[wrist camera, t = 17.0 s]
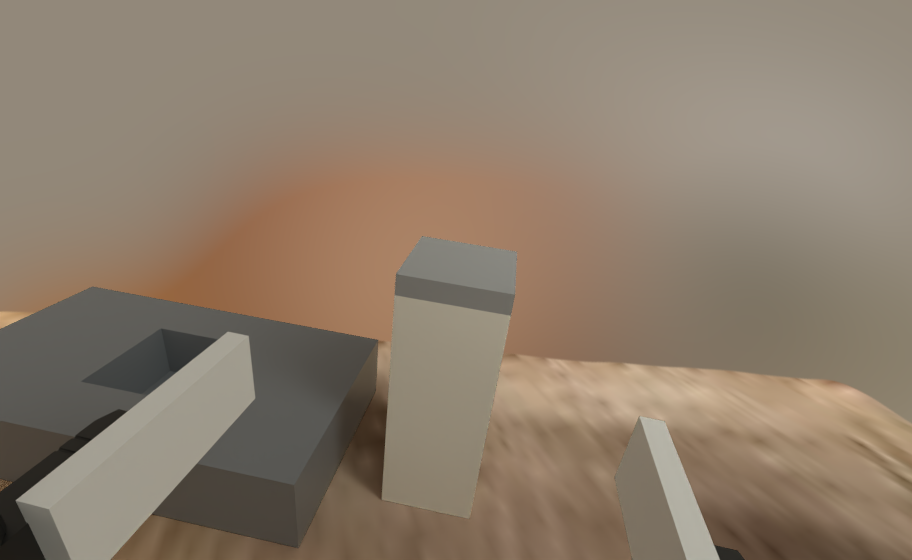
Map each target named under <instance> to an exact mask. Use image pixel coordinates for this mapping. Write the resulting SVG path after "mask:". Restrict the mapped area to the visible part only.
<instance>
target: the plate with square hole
mask: <svg viewBox="0 0 912 560" xmlns="http://www.w3.org/2000/svg"><path fill="white" fill-rule="evenodd" d="M227 332H232V333H237V334H242V335H247V336H249V343H250V353H251V362H252V372H253V381H254V390H255V399H254V400H253V401H252V403H251V404H250V405H249V406H248V407H247V408H246V409H245V410H244V411H243V413H242V414H241V415H240V416H239V417H238V418H237V419H236V420H235V421H234V423H233V424H232V425H231V426H230V427H229V428H228V429H227V430H226V432H225V433H224V434H223V435H222V436H221V437H220V438H219V439H218V440H217V442H216V443H215V444H214V445H213V446H212V447H211V448H210V449H209V450H208V452H207V453H206V454H205V455H204V456H203V457H202V458H201V459H200V460H199V462H198V463H197V464H196V465H195V466H194V467H193V468H192V469H191V470H190V472H189V473H188V474H187V475H186V476H185V477H184V478H183V479H182V481H181V482H180V483H179V484H178V485H177V486H176V487H175V488H174V489H173V491H172V492H171V493H170V494H169V495H168V496H167V497H166V498H165V499H164V501H163V502H162V503H161V504H160V505H159V506H158V507H157V508H156V509H155V511H154V512H153V513H152V514H154V515H158V516H163V517H167V518H171V519H175V520H180V521H184V522H188V523H193V524H197V525H201V526H206V527H210V528H214V529H219V530H223V531H227V532H231V533H236V534H240V535H244V536H249V537H253V538H257V539H262V540H266V541H270V542H275V543H279V544H283V545H287V546H292V547H296V548H299V546H300V544H301V542H302V540H303V538H304V536H305V534H306V532H307V529H308V527H309V525H310V523H311V521H312V519H313V517H314V515H315V513H316V511H317V509H318V507H319V505H320V503H321V501H322V499H323V497H324V495H325V493H326V491H327V489H328V487H329V485H330V483H331V481H332V479H333V476H334V474H335V472H336V470H337V468H338V466H339V464H340V462H341V460H342V458H343V456H344V454H345V452H346V450H347V448H348V446H349V444H350V442H351V440H352V438H353V436H354V434H355V432H356V430H357V428H358V426H359V423H360V421H361V419H362V417H363V415H364V413H365V411H366V409H367V407H368V405H369V403H370V401H371V399H372V397H373V395H374V393H375V391H376V376H377V355H378V340H375V339H370V338H364V337H360V336H354V335H348V334H344V333H337V332H333V331H327V330H322V329H317V328H311V327H306V326H301V325H295V324H290V323H285V322H279V321H274V320H269V319H263V318H258V317H253V316H247V315H242V314H236V313H231V312H225V311H220V310H215V309H210V308H204V307H198V306H194V305H188V304H183V303H177V302H172V301H167V300H162V299H156V298H151V297H145V296H139V295H135V294H129V293H124V292H118V291H113V290H108V289H103V288H97V287H91V288H88V289H87V290H84V291H82V292H80V293H78V294H75V295H73V296H71V297H69V298H67V299H65V300H62V301H60V302H58V303H56V304H54V305H51V306H50V307H47V308H45V309H43V310H41V311H39V312H36V313H34V314H32V315H30V316H28V317H25V318H23V319H21V320H19V321H17V322H14V323H12V324H10V325H8V326H6V327H4V328H1V329H0V479H3V480H7V481H12V482H14V481H16V480H17V479H18V478H20V477H21V476H22V475H23V474H25V473H26V472H27V471H29V470H30V469H31V468H33V467H34V466H35V465H37V464H38V463H39V462H41V461H42V460H43V459H45V458H46V457H47V456H49V455H50V454H51V453H53V452H54V451H58V450H59V447H61V446H62V445H63V444H64V443H66V442H67V441H68V440H70V439H71V438H75V435H76V434H78V433H79V432H80V431H82V430H83V429H84V428H86V427H87V426H88V425H90V424H91V423H92V422H94V421H95V420H97V419H99V418H101V417H103V416H105V415H107V414H109V413H111V412H114V411H116V410H118V409H120V410H125V411H129V410H130V409H131V408H133V407H134V406H135V405H136V404H138V403H139V402H140V401H141V400H143V399H144V398H145V397H146V396H148V395H149V394H150V393H151V392H153V391H154V390H155V389H156V388H158V387H159V386H160V385H162V384H163V383H164V382H165V381H167V380H168V379H169V378H170V377H172V376H173V375H174V374H175V373H177V372H178V371H179V370H180V369H182V368H183V367H184V366H185V365H187V364H188V363H189V362H190V361H192V360H193V359H194V358H195V357H197V356H198V355H199V354H201V353H202V352H203V351H204V350H206V349H207V348H208V347H209V346H211V345H212V344H213V343H214V342H216V341H217V340H218V339H219V338H221V337H222V336H223V335H224V334H226V333H227Z"/></svg>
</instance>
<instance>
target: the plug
mask: <svg viewBox="0 0 912 560" xmlns="http://www.w3.org/2000/svg"><path fill="white" fill-rule="evenodd" d="M516 261H517V252H515V251H509V250H503V249H496V248H491V247H485V246H478V245H472V244H466V243H460V242H454V241H448V240H442V239H436V238H430V237H424V236H422V237H421V239H420V240H419V242H418V243H417V244H416V246H415V248H414V249H413V250H412V252H411V253H410V255H409V256H408V257H407V259H406V260H405V262H404V263H403V265H402V266H401V268H400V269H399V270H398V272H397V273H396V282H395V299H394V314H393V329H392V330H393V331H392V344H391V360H390V375H389V391H388V407H387V422H386V438H385V453H384V469H383V484H382V500H385V501H389V502H394V503H398V504H403V505H408V506H412V507H417V508H421V509H426V510H430V511H435V512H440V513H444V514H449V515H453V516H458V517H462V518H467V519H470V514H471V509H472V504H473V499H474V494H475V489H476V485H477V480H478V475H479V470H480V465H481V460H482V455H483V450H484V445H485V440H486V435H487V430H488V425H489V421H490V416H491V411H492V406H493V401H494V396H495V391H496V386H497V381H498V376H499V371H500V366H501V361H502V356H503V352H504V346H505V342H506V337H507V331H508V326H509V322H510V317H511V312H512V307H513V302H514V297H515V284H516Z"/></svg>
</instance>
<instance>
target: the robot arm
mask: <svg viewBox="0 0 912 560" xmlns="http://www.w3.org/2000/svg"><path fill="white" fill-rule="evenodd" d="M254 399H255V390H254V381H253V372H252V362H251V353H250V343H249V336H247V335H242V334H237V333H232V332H227V333H226V334H224V335H223V336H222V337H221V338H219V339H218V340H217V341H216V342H214V343H213V344H212V345H211V346H209V347H208V348H207V349H206V350H204V351H203V352H202V353H201V354H199V355H198V356H197V357H195V358H194V359H193V360H192V361H190V362H189V363H188V364H187V365H185V366H184V367H183V368H182V369H180V370H179V371H178V372H177V373H175V374H174V375H173V376H172V377H170V378H169V379H168V380H167V381H165V382H164V383H163V384H162V385H160V386H159V387H158V388H156V389H155V390H154V391H153V392H151V393H150V394H149V395H148V396H146V397H145V398H144V399H143V400H141V401H140V402H139V403H138V404H136V405H135V406H134V407H133V408H131V409H130V410H129V411H125V410H120V409H118V410H116V411H114V412H111V413H109V414H107V415H105V416H103V417H101V418H99V419H97V420H95V421H94V422H92V423H91V424H90V425H88V426H87V427H86V428H84V429H83V430H82V431H80V432H79V433H78V434H76V435H75V438H71V439H70V440H68V441H67V442H66V443H64V444H63V445H62V446H61V447H59V450H58V451H54V452H53V453H51V454H50V455H49V456H47V457H46V458H45V459H43V460H42V461H41V462H39V463H38V464H37V465H35V466H34V467H33V468H31V469H30V470H29V471H27V472H26V473H25V474H23V475H22V476H21V477H20V478H18V479H17V480H16V481H14V482H13V483H12V484H10V485H9V486H8V487H6V488H5V489H4V490H2V491H1V492H0V560H111V558H112V557H113V556H114V555H115V554H116V553H117V552H118V551H119V550H120V548H121V547H122V546H123V545H124V544H125V543H126V542H127V541H128V540H129V538H130V537H131V536H132V535H133V534H134V533H135V532H136V531H137V530H138V528H139V527H140V526H141V525H142V524H143V523H144V522H145V521H146V519H147V518H148V517H149V516H150V515H151V514H152V513H153V512H154V511H155V509H156V508H157V507H158V506H159V505H160V504H161V503H162V502H163V501H164V499H165V498H166V497H167V496H168V495H169V494H170V493H171V492H172V491H173V489H174V488H175V487H176V486H177V485H178V484H179V483H180V482H181V481H182V479H183V478H184V477H185V476H186V475H187V474H188V473H189V472H190V470H191V469H192V468H193V467H194V466H195V465H196V464H197V463H198V462H199V460H200V459H201V458H202V457H203V456H204V455H205V454H206V453H207V452H208V450H209V449H210V448H211V447H212V446H213V445H214V444H215V443H216V442H217V440H218V439H219V438H220V437H221V436H222V435H223V434H224V433H225V432H226V430H227V429H228V428H229V427H230V426H231V425H232V424H233V423H234V421H235V420H236V419H237V418H238V417H239V416H240V415H241V414H242V413H243V411H244V410H245V409H246V408H247V407H248V406H249V405H250V404H251V403H252V401H253V400H254ZM615 482H616V486H617V491H618V496H619V501H620V505H621V510H622V515H623V519H624V524H625V529H626V533H627V538H628V543H629V548H630V552H631V557H632V560H745V559H744V558H743V557H742V556H741V554H740V553H739V552H738V551H737V550H733V549H728V548H724V547H720V546H715V545H714V544H713V541H712V539H711V536H710V534H709V531H708V529H707V526H706V524H705V521H704V519H703V516H702V514H701V511H700V509H699V506H698V504H697V501H696V499H695V496H694V494H693V491H692V489H691V486H690V484H689V481H688V479H687V476H686V474H685V471H684V469H683V466H682V464H681V461H680V459H679V456H678V454H677V451H676V449H675V446H674V444H673V441H672V439H671V436H670V434H669V431H668V429H667V426H666V424H665V421H661V420H656V419H651V418H646V417H642V416H639V418H638V421H637V423H636V426H635V428H634V431H633V433H632V436H631V438H630V441H629V443H628V445H627V448H626V450H625V453H624V455H623V458H622V460H621V463H620V465H619V468H618V470H617V473H616V475H615Z"/></svg>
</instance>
